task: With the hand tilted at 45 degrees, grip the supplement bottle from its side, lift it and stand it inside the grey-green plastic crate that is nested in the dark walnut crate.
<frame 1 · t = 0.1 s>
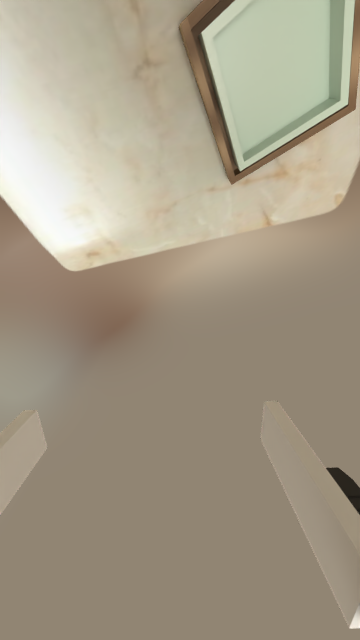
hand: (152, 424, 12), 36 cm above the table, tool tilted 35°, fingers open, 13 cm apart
grey-green crate: (271, 71, 24), resting on walnut crate
walnut crate: (269, 71, 24), on the table
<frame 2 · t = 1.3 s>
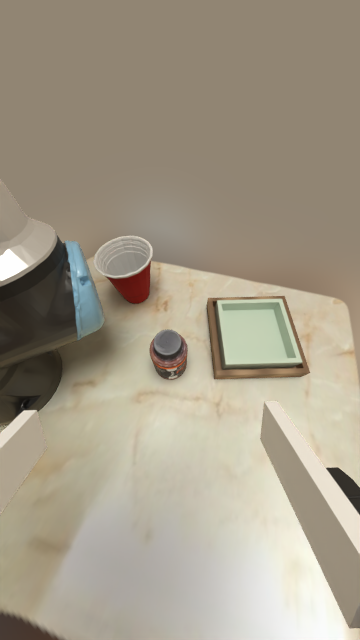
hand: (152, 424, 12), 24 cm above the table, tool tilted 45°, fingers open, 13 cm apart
plastic cup: (136, 293, 46), on the table
supplement bottle: (171, 364, 38), on the table
grey-green crate: (250, 336, 40), resting on walnut crate
walnut crate: (249, 337, 41), on the table
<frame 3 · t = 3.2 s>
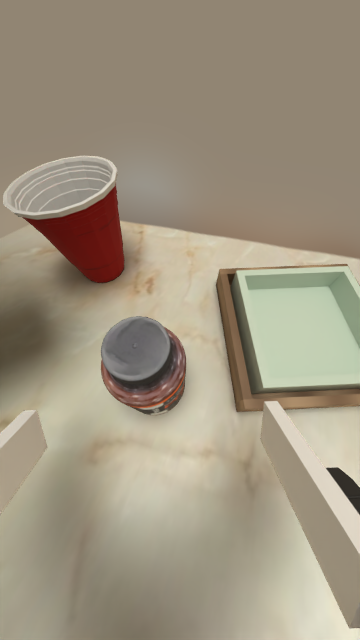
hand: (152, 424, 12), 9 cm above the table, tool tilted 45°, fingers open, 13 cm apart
plastic cup: (104, 268, 29), on the table
supplement bottle: (157, 384, 21), on the table
grey-green crate: (295, 332, 23), resting on walnut crate
walnut crate: (291, 334, 24), on the table
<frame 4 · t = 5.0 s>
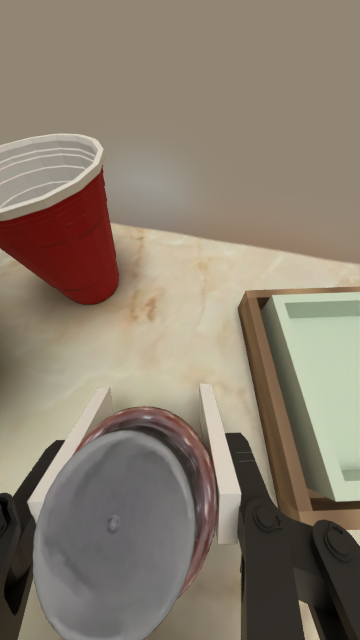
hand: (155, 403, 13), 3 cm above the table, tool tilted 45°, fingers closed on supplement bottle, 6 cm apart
plastic cup: (92, 284, 23), on the table
supplement bottle: (160, 461, 15), on the table, touching gripper
grey-green crate: (353, 381, 16), resting on walnut crate
walnut crate: (346, 383, 17), on the table
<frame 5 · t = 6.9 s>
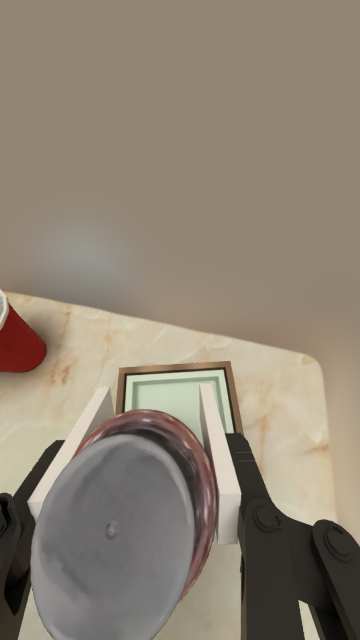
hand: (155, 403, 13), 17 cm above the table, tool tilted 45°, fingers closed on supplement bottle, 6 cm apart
plastic cup: (28, 354, 33), on the table
supplement bottle: (160, 462, 15), point 13 cm above the table, touching gripper
grey-green crate: (178, 427, 27), resting on walnut crate
walnut crate: (178, 427, 28), on the table
when the fingers open (7 cm above the table, at t = 9.2 s): supplement bottle drops 2 cm, resting on grey-green crate.
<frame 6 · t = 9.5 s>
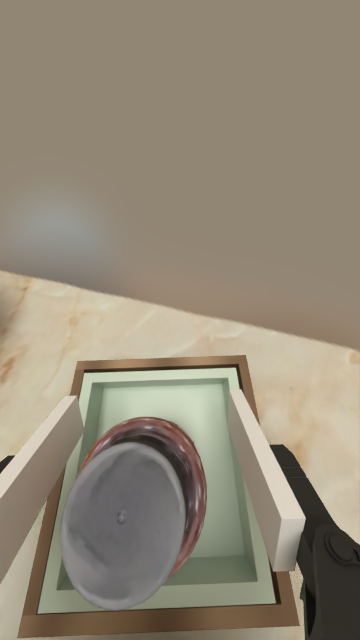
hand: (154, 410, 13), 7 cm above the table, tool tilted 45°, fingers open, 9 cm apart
supplement bottle: (160, 459, 16), point 1 cm above the table, touching grey-green crate
grey-green crate: (163, 456, 17), resting on walnut crate
walnut crate: (164, 455, 18), on the table
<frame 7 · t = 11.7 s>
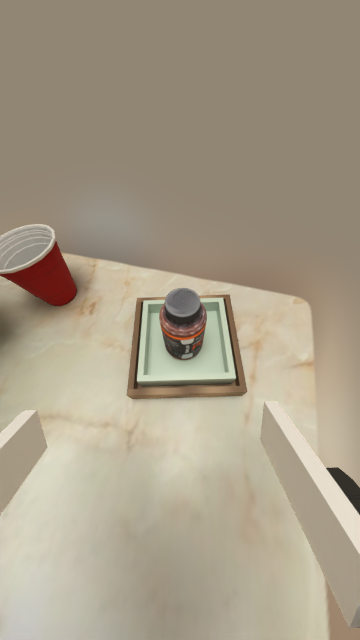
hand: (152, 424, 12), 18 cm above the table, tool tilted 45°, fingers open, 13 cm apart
plastic cup: (62, 294, 40), on the table
supplement bottle: (183, 343, 32), point 1 cm above the table, touching grey-green crate
grey-green crate: (184, 344, 32), resting on walnut crate
walnut crate: (184, 346, 33), on the table
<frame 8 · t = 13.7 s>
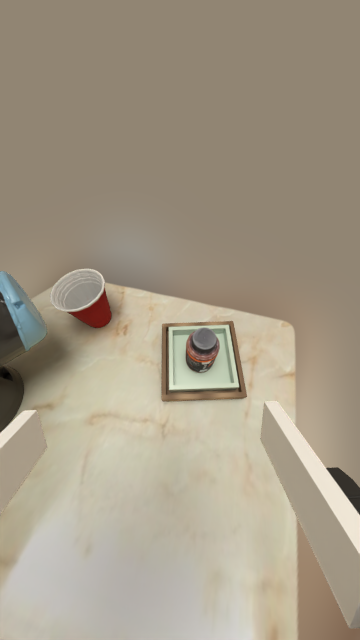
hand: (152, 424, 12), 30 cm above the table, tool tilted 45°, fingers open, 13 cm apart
plastic cup: (99, 317, 50), on the table
supplement bottle: (199, 359, 43), point 1 cm above the table, touching grey-green crate
grey-green crate: (199, 359, 43), resting on walnut crate
walnut crate: (199, 361, 44), on the table
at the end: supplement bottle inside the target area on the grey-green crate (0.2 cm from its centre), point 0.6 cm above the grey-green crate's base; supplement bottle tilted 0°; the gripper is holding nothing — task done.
